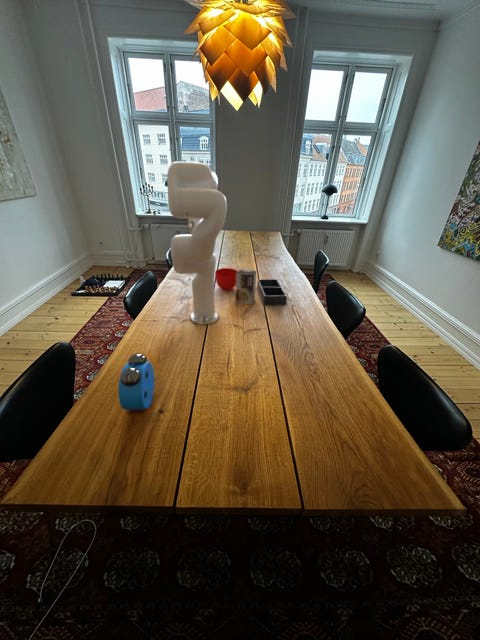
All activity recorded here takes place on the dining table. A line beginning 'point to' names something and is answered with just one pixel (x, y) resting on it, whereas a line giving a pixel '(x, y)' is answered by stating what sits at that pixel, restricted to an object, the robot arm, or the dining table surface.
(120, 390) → the alarm clock
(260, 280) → the black divided tray
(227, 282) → the ceramic cup
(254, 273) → the coffee box
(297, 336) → the dining table surface
